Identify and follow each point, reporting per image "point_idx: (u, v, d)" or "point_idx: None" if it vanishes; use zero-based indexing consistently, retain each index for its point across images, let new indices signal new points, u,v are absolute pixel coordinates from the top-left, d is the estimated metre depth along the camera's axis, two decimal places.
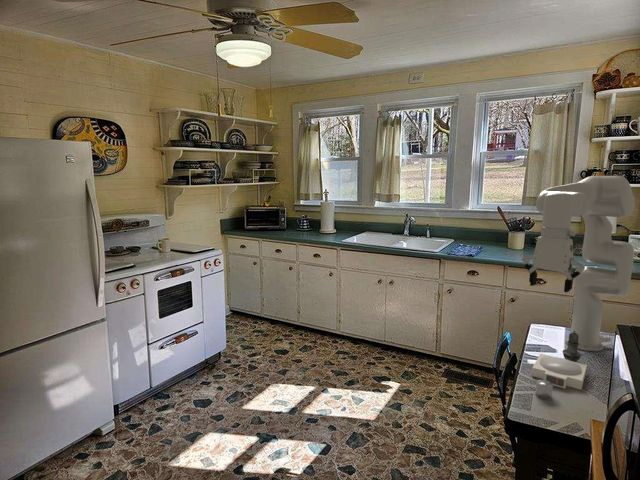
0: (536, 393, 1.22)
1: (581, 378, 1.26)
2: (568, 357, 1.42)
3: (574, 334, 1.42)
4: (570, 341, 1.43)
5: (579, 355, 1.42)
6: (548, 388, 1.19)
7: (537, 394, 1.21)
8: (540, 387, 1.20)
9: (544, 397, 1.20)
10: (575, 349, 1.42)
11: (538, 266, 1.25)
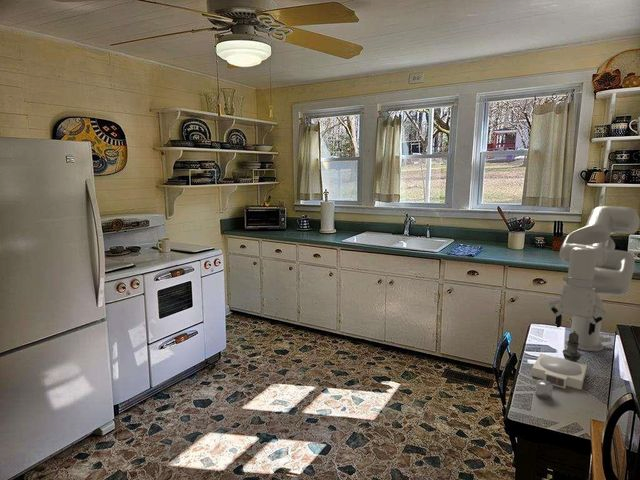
0: (536, 393, 1.22)
1: (581, 378, 1.26)
2: (568, 357, 1.42)
3: (574, 334, 1.42)
4: (570, 341, 1.43)
5: (579, 355, 1.42)
6: (548, 388, 1.19)
7: (537, 394, 1.21)
8: (540, 387, 1.20)
9: (544, 397, 1.20)
10: (575, 349, 1.42)
11: None
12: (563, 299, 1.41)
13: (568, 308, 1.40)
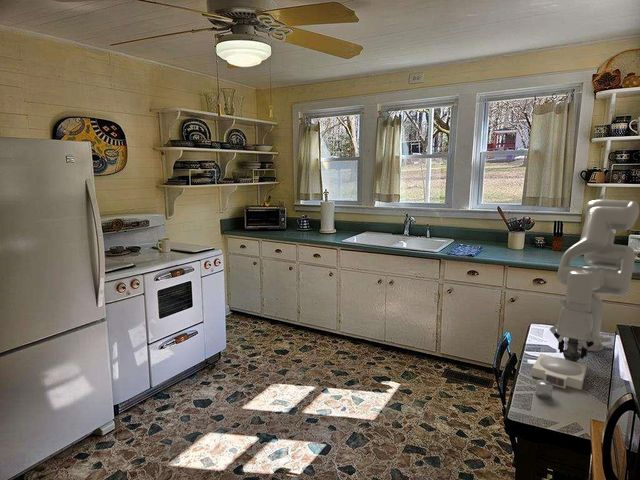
0: (536, 393, 1.22)
1: (581, 378, 1.26)
2: (568, 357, 1.42)
3: None
4: (570, 341, 1.43)
5: (579, 355, 1.42)
6: (548, 388, 1.19)
7: (537, 394, 1.21)
8: (540, 387, 1.20)
9: (544, 397, 1.20)
10: (575, 349, 1.42)
11: None
12: (561, 322, 1.43)
13: (566, 331, 1.42)
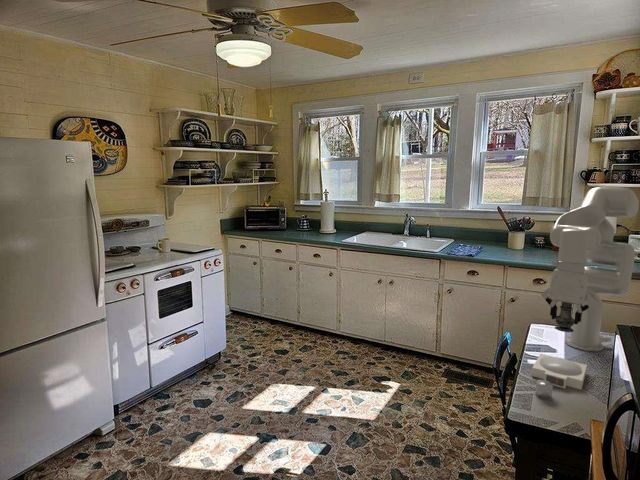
0: (536, 393, 1.22)
1: (581, 378, 1.26)
2: (561, 323, 1.31)
3: None
4: (563, 305, 1.31)
5: (573, 320, 1.30)
6: (548, 388, 1.19)
7: (537, 394, 1.21)
8: (540, 387, 1.20)
9: (544, 397, 1.20)
10: (568, 314, 1.30)
11: None
12: (553, 285, 1.31)
13: (558, 294, 1.30)
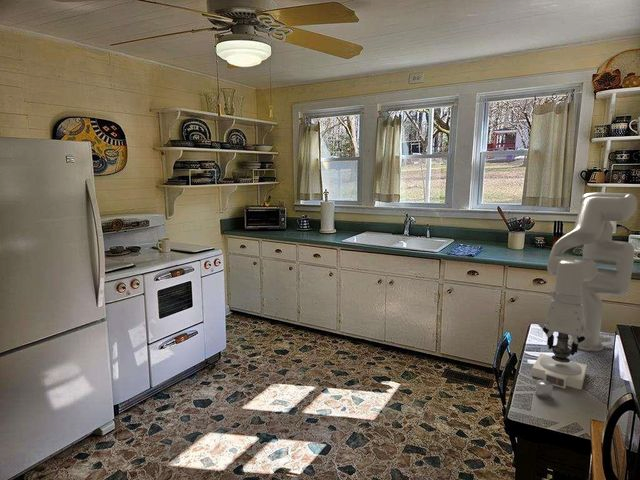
0: (536, 393, 1.22)
1: (581, 378, 1.26)
2: (557, 353, 1.32)
3: None
4: (560, 336, 1.32)
5: (569, 351, 1.31)
6: (548, 388, 1.19)
7: (537, 394, 1.21)
8: (540, 387, 1.20)
9: (544, 397, 1.20)
10: (565, 345, 1.32)
11: None
12: (550, 316, 1.33)
13: (555, 325, 1.32)
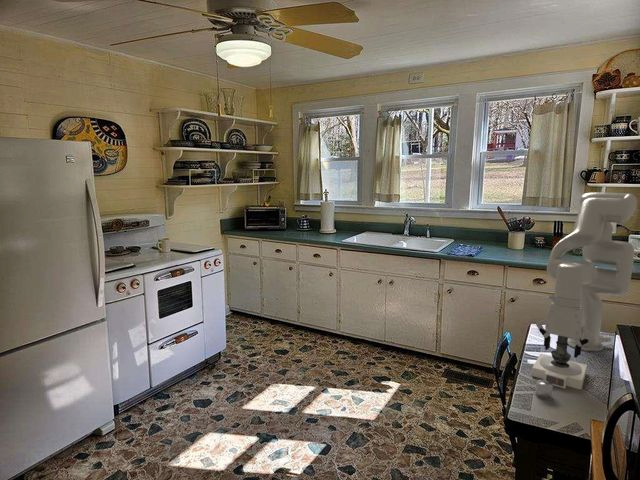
0: (536, 393, 1.22)
1: (581, 378, 1.26)
2: (557, 359, 1.33)
3: None
4: (559, 341, 1.33)
5: (569, 356, 1.32)
6: (548, 388, 1.19)
7: (537, 394, 1.21)
8: (540, 387, 1.20)
9: (544, 397, 1.20)
10: (564, 350, 1.32)
11: None
12: (549, 319, 1.33)
13: (555, 328, 1.32)
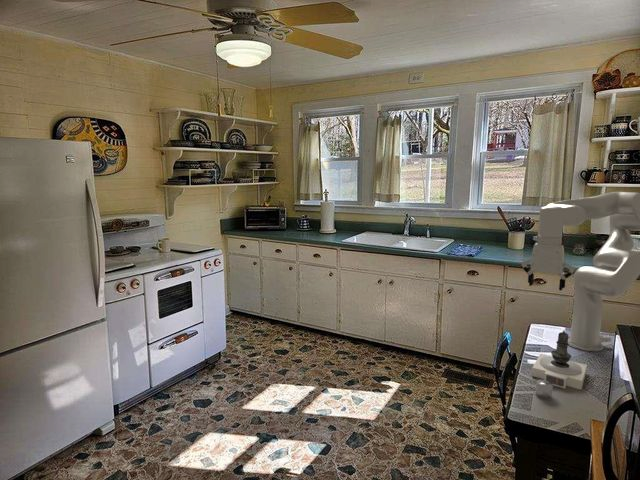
0: (536, 393, 1.22)
1: (581, 378, 1.26)
2: (557, 358, 1.33)
3: (563, 334, 1.32)
4: (559, 341, 1.33)
5: (569, 356, 1.32)
6: (548, 388, 1.19)
7: (537, 394, 1.21)
8: (540, 387, 1.20)
9: (544, 397, 1.20)
10: (564, 350, 1.32)
11: None
12: (534, 258, 1.45)
13: (539, 266, 1.44)
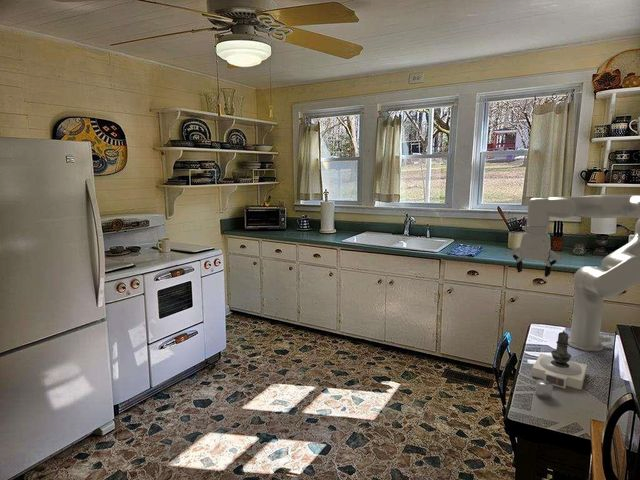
0: (536, 393, 1.22)
1: (581, 378, 1.26)
2: (557, 358, 1.33)
3: (563, 334, 1.32)
4: (559, 341, 1.33)
5: (569, 356, 1.32)
6: (548, 388, 1.19)
7: (537, 394, 1.21)
8: (540, 387, 1.20)
9: (544, 397, 1.20)
10: (564, 350, 1.32)
11: None
12: (522, 246, 1.56)
13: (527, 254, 1.55)
